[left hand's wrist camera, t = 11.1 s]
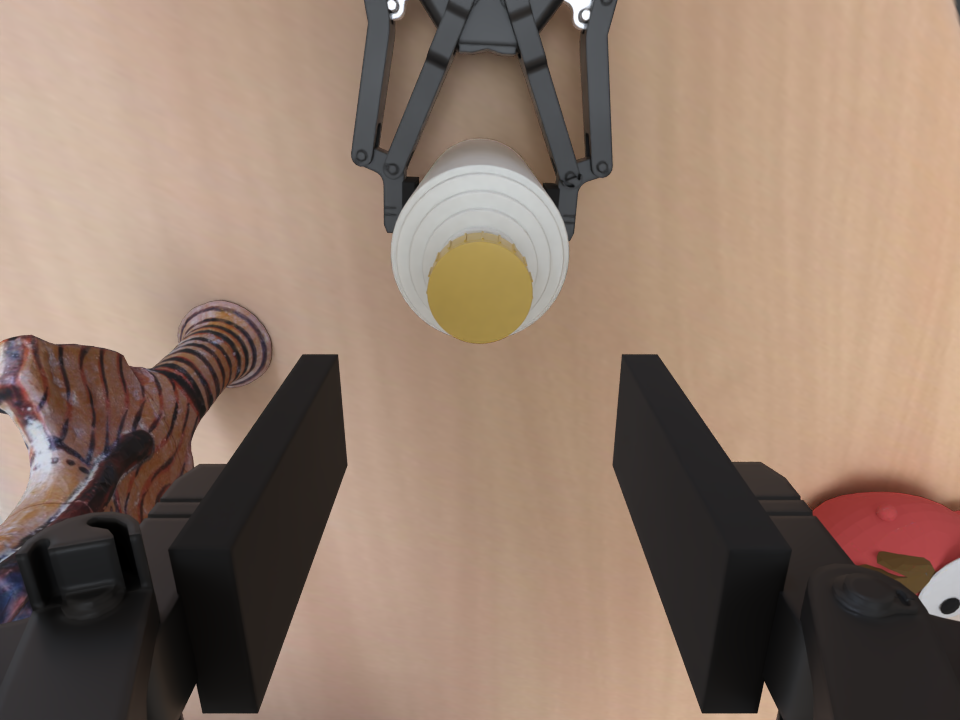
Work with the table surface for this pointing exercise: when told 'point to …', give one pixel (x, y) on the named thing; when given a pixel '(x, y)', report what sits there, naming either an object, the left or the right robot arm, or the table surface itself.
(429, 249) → the bottle
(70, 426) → the figurine
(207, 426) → the table surface
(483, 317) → the cap
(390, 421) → the table surface
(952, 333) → the table surface
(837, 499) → the toy
